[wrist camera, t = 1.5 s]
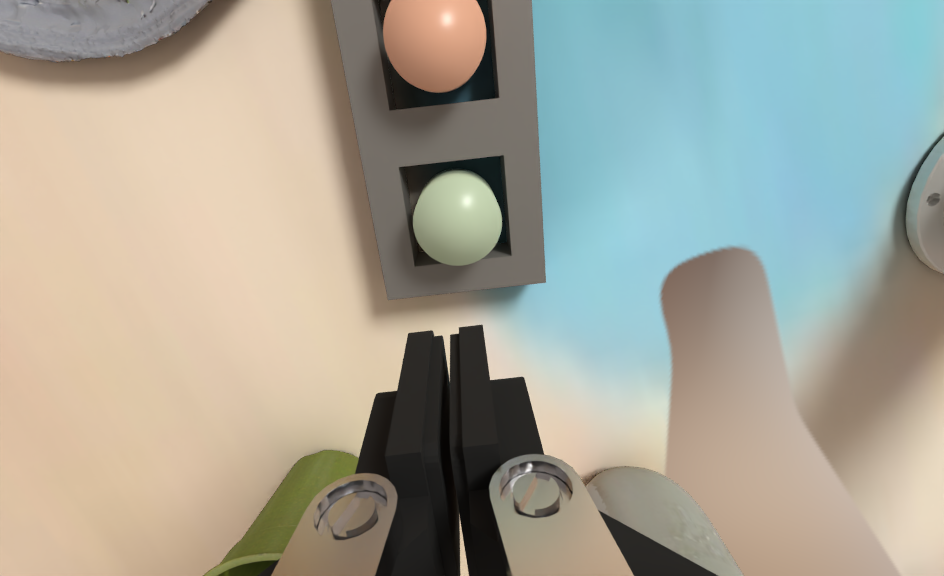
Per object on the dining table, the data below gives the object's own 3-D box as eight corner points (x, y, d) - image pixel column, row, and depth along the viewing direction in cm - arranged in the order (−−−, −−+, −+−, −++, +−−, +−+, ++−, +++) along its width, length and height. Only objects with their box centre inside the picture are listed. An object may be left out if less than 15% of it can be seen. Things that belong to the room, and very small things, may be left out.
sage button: (492, 164, 28) (497, 173, 24) (499, 240, 30) (505, 260, 26) (412, 173, 28) (406, 183, 24) (424, 249, 30) (419, 270, 26)
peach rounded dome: (477, -11, 24) (480, -31, 21) (485, 88, 26) (490, 85, 22) (386, -1, 24) (374, -19, 21) (401, 97, 26) (392, 96, 23)
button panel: (505, -301, 21) (513, -362, 19) (537, 266, 32) (545, 282, 29) (292, -275, 22) (267, -331, 19) (393, 282, 32) (388, 300, 29)
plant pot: (248, 425, 36) (164, 557, 26) (402, 424, 36) (381, 553, 26) (270, 536, 40) (205, 687, 30) (406, 534, 41) (390, 682, 30)
